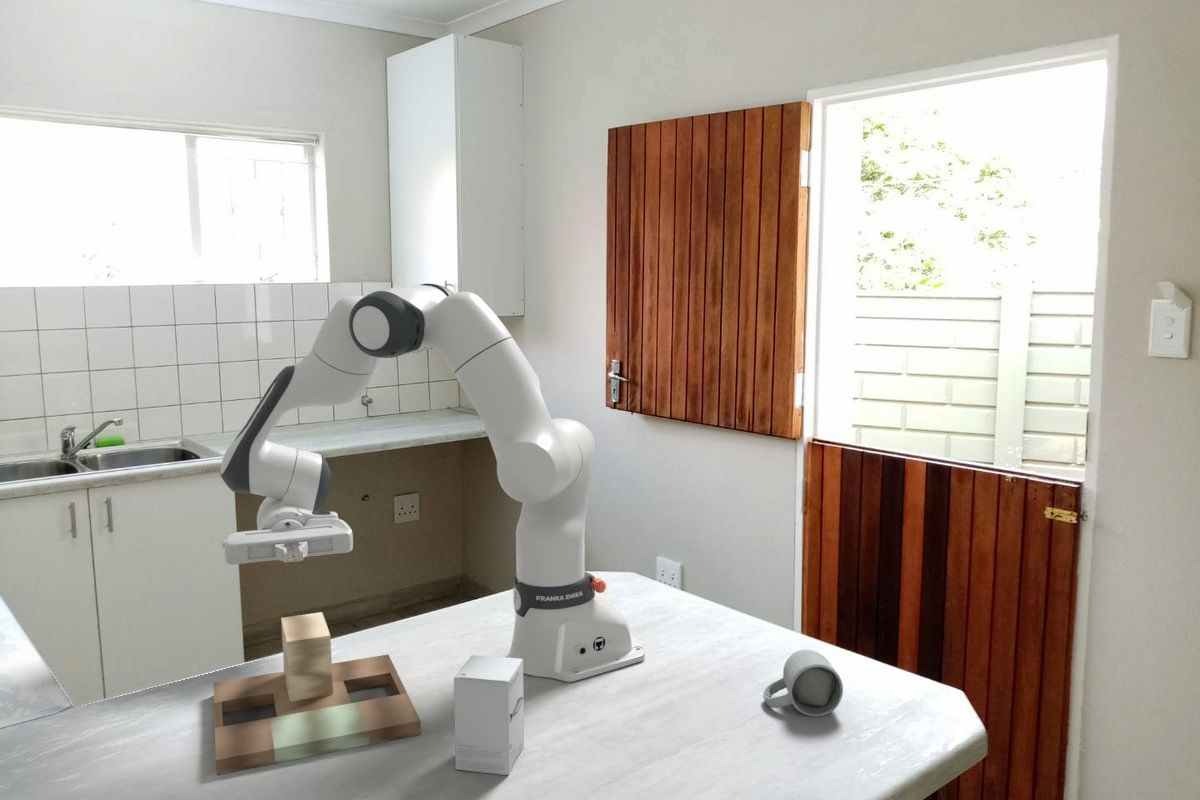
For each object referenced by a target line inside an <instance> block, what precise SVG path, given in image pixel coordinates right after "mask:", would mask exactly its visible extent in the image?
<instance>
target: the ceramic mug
mask: <svg viewBox="0 0 1200 800" xmlns="http://www.w3.org/2000/svg"><path fill="white" fill-rule="evenodd" d="M784 689H786V690H787V693H786V694H782V695H780V696H776V697H772V696H773V695H775V694H777V693H778V692H780V691H781V690H784ZM843 694H844V685H843V682H842V678H841V677H840V675H839V673H838V672H837V671H836V669H835V668H834V667H833V666H832V664H831V662H830V661H829V660H828V659H827V658H826V657H825V656H824V655H823V654H821V653H820V652H818V651H815V650H812V649H800V650H797V651H795V652H794V653H792V654H791V655H790V656H789V657H788V658H787V659H786V661H785V664H784V666H783V677H782V678H780V679H778V680H776V681H773V682H771V683H770V684H769V685H767V686H766V688H765V689H764V690H763V693H762V695H763V699H764V702H765V703H766V706H768V707H769V708H772V709H779V708H784V707H788V706H790V705H793V707H794V708H795V709H796V710H797V711H798V712H800V713H802V714H803V715H806V716H808V717H813V718H815V717H822V716H826V715H828V714H831V713H832V712H834V711H835V709H836V708H837V707H838V706H839V705H840V703H841V701H842V698H843Z"/></svg>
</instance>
